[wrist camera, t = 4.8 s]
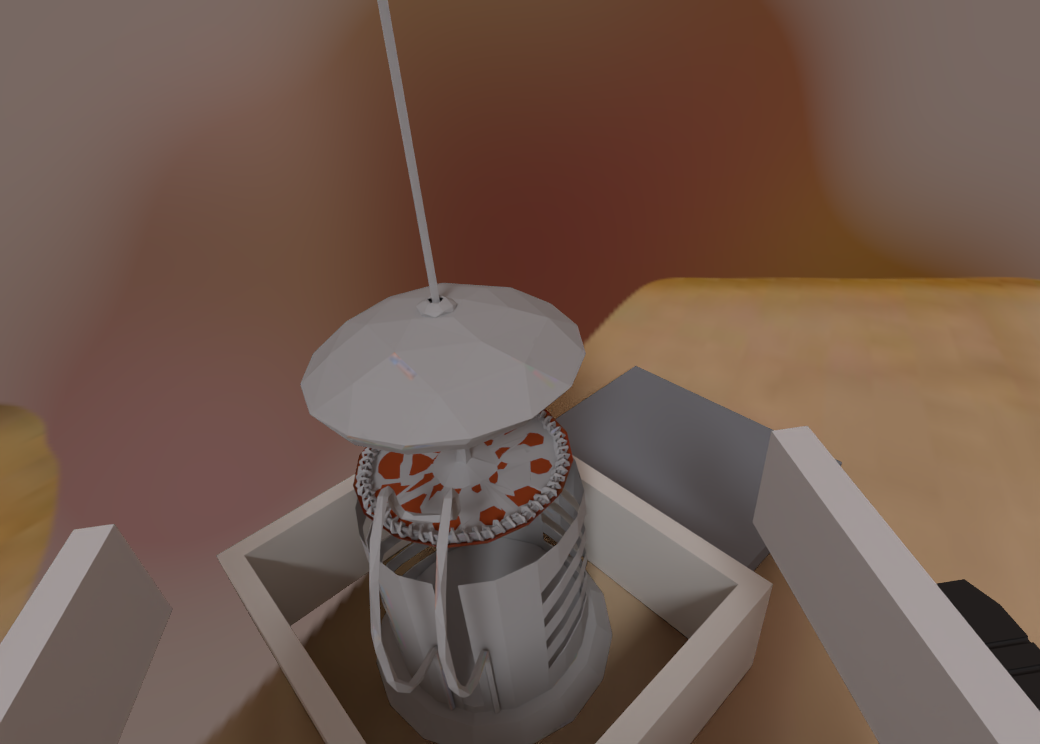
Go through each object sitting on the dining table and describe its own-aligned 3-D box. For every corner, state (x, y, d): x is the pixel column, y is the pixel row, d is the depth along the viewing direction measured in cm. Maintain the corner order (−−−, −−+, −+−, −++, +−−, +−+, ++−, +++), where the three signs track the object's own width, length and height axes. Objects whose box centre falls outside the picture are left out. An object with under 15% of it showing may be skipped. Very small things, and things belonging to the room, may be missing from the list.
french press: (611, 538, 28) (618, -156, 14) (613, 830, 19) (639, -363, 5) (412, 530, 30) (239, -110, 16) (321, 798, 20) (-317, -201, 6)
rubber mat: (507, 465, 33) (506, 451, 33) (635, 378, 39) (635, 365, 38) (713, 615, 25) (716, 600, 24) (837, 476, 30) (841, 462, 30)
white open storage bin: (258, 630, 26) (216, 555, 23) (494, 470, 33) (484, 398, 30) (482, 1008, 16) (455, 957, 13) (752, 665, 23) (773, 583, 20)
